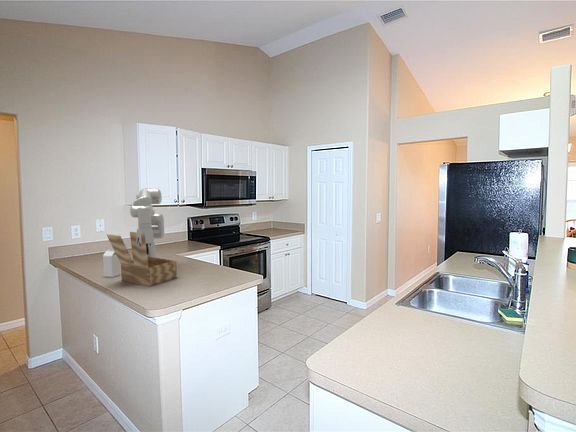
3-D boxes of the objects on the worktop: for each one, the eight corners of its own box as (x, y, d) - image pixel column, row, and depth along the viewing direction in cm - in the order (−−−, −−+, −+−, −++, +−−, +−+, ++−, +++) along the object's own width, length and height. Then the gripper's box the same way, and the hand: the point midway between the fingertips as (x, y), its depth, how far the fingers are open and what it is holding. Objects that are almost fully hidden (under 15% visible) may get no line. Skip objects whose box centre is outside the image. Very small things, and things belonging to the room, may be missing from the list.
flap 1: (107, 234, 203) (106, 234, 203) (120, 235, 197) (119, 235, 196) (121, 262, 212) (120, 262, 212) (134, 264, 206) (133, 265, 206)
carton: (149, 272, 233) (149, 256, 232) (176, 277, 220) (176, 260, 218) (121, 280, 214) (120, 262, 213) (149, 286, 200) (148, 267, 199)
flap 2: (130, 231, 202) (129, 231, 202) (144, 233, 196) (143, 233, 195) (134, 264, 206) (133, 265, 205) (148, 267, 199) (147, 267, 199)
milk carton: (112, 277, 221) (111, 250, 219) (103, 276, 222) (102, 250, 221) (119, 274, 228) (118, 248, 226) (111, 274, 229) (110, 248, 228)
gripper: (150, 224, 210) (151, 252, 211) (130, 226, 197) (131, 256, 198) (158, 225, 206) (159, 253, 208) (138, 227, 193) (139, 257, 194)
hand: (146, 254), depth 203 cm, fingers closed
